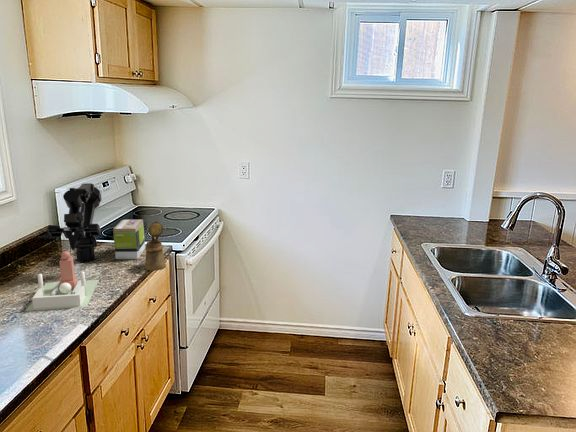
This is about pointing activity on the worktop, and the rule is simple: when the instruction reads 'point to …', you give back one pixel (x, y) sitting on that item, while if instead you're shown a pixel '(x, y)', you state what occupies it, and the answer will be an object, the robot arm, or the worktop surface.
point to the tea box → (129, 239)
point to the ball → (65, 288)
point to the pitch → (53, 290)
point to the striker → (67, 270)
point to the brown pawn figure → (155, 249)
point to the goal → (58, 296)
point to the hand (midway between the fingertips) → (72, 249)
